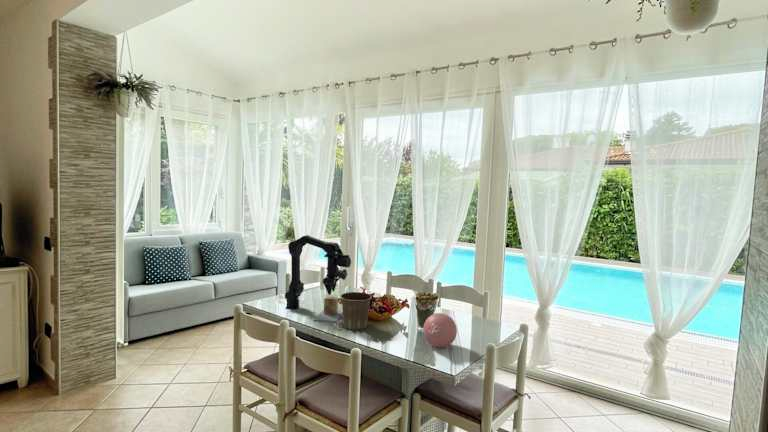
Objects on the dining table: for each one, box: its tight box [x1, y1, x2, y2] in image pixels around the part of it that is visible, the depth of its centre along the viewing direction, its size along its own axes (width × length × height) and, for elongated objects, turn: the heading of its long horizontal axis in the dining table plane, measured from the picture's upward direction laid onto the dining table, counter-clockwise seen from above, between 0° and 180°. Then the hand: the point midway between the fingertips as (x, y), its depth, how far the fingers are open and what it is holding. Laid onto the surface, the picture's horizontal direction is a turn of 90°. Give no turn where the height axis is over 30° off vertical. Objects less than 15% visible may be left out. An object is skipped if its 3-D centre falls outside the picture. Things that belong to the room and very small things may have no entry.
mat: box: [313, 309, 343, 323], centre depth 226 cm, size 12×18×1 cm, turn 174°
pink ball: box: [422, 312, 458, 349], centre depth 185 cm, size 15×20×15 cm
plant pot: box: [340, 291, 373, 331], centre depth 211 cm, size 16×16×16 cm
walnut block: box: [323, 296, 339, 315], centre depth 229 cm, size 7×4×9 cm, turn 84°
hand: (331, 292), depth 229 cm, fingers open, 9 cm apart
